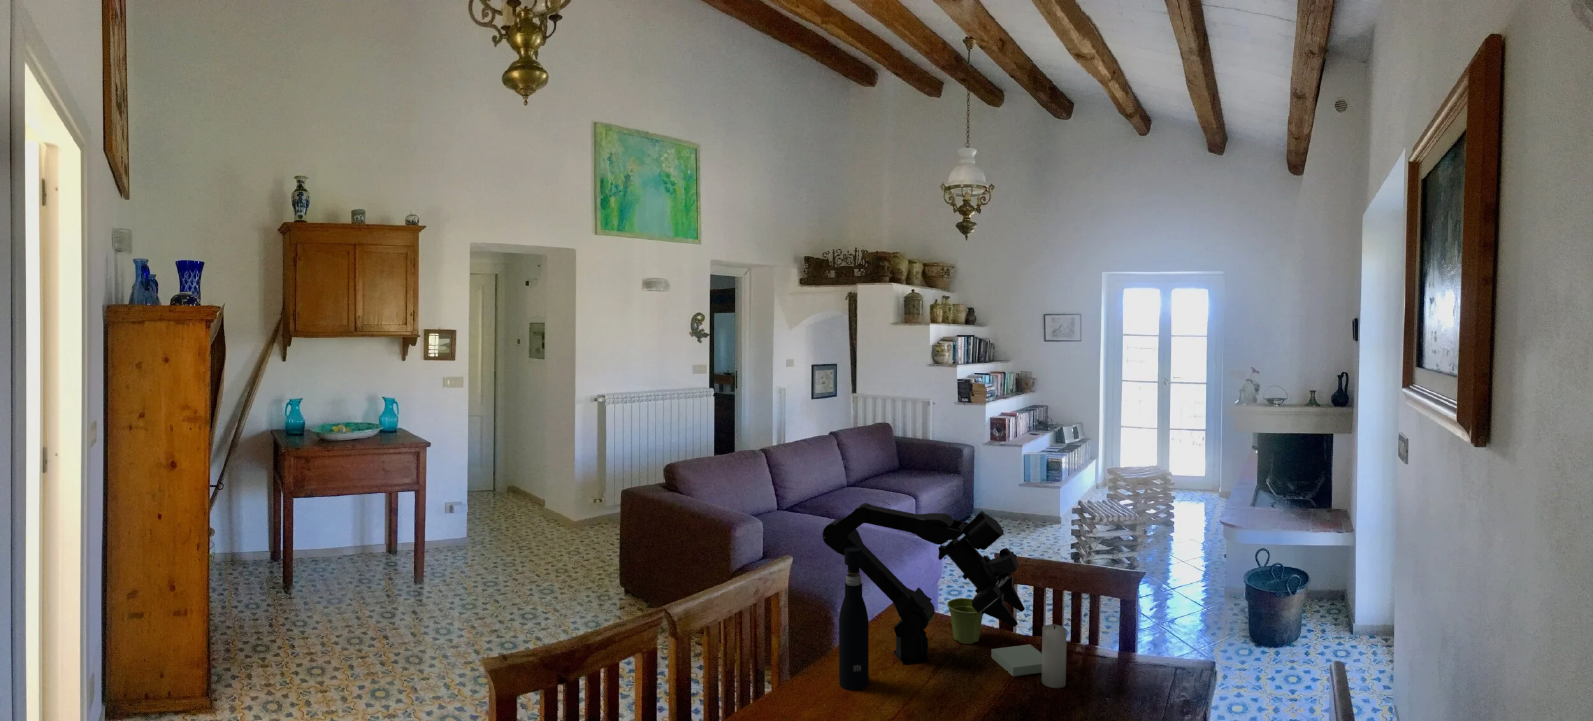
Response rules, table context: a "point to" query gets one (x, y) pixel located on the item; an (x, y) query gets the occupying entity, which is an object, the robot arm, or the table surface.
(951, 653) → the table surface
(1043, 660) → the candle
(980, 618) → the plant pot
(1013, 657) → the stand
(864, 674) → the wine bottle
